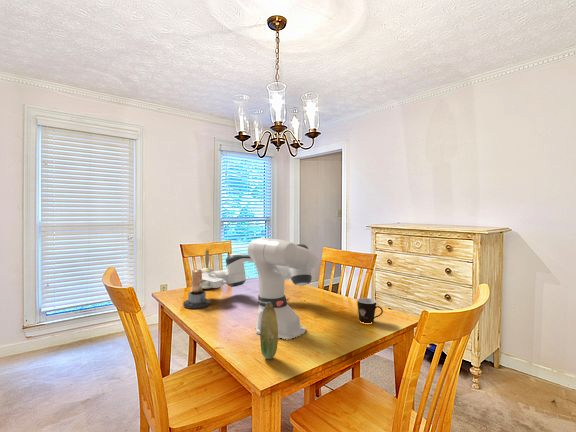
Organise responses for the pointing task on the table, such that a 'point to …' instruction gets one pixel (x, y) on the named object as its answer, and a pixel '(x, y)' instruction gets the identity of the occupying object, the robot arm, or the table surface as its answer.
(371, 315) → the coffee mug
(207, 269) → the handbell
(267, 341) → the vegetable
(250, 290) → the table surface
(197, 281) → the copper pipe
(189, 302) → the pipe sleeve
